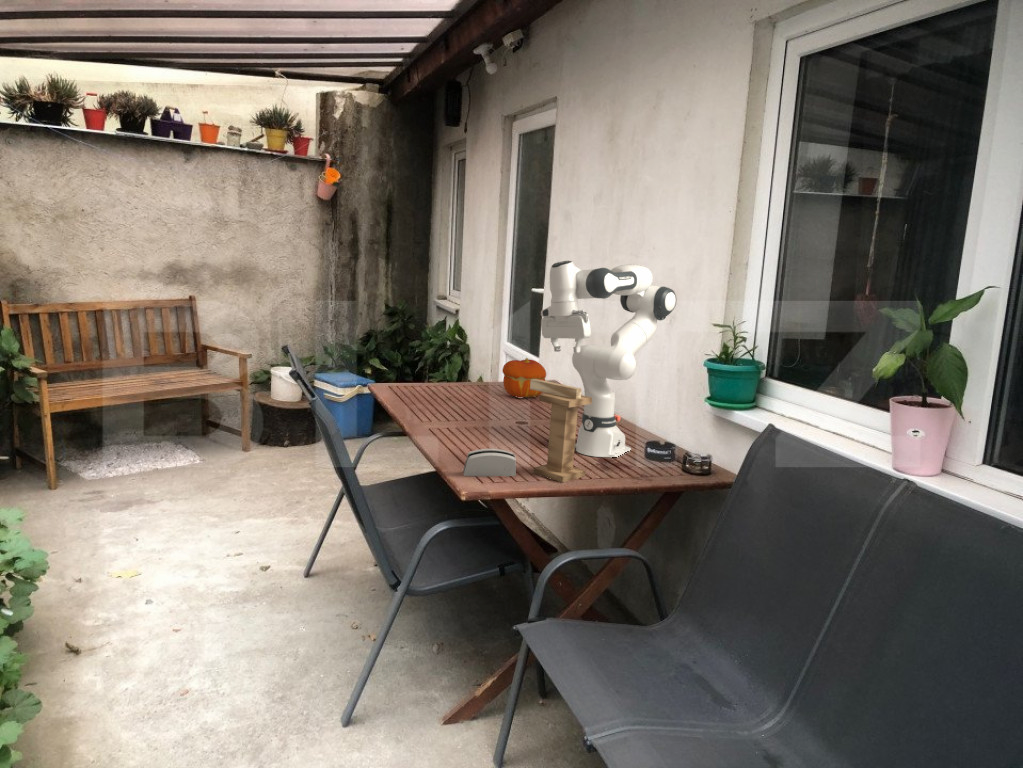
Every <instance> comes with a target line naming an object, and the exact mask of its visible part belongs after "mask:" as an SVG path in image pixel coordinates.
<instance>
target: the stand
mask: <svg viewBox="0 0 1023 768" xmlns="http://www.w3.org/2000/svg"><path fill="white" fill-rule="evenodd" d="M538 402H543V403H546V404H551V411H550V423H549V435H548V436H549V437H548V446H547V447H548V448H547V449H548V450H547V460H546V464H542V465H538V466H535V467H533V470H532V471H533V472H532V474H533V473H534V474H533V475H536V474H538V475H537V476H539V475H541V476H540V477H543V476H544V477H543V478H546V477H548V478H547V479H549V478H551V479H550V480H552V479H553V481H555V480H556V482H559V483H561V484H562V483H567V482H570V481H573V479H574V480H577V479H580V477H581V478H583V477H582V476H584V477H586V472H587V470H586V469H583V468H579V467H576V466H574V458H575V451H576V448H575V444H576V435H577V425H578V424H577V423H578V410H579V407H581V406H584V405H588V404H592V398H591V397H587V396H585V395H582V394H581V399H572V398H568V397H563V396H559V395H554V394H550V393H542V394H540V395H539V396H538Z"/></svg>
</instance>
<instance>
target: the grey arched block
mask: <svg viewBox="0 0 1023 768" xmlns="http://www.w3.org/2000/svg"><path fill="white" fill-rule="evenodd" d="M516 464H517V462H516V455H515V453H514V452H511V451H508V450H506V449H505V450H504V449H500V448H480V449H475V450H472V451H469V452H468V453H467V456H466V459H465V463H464V466H463V476H464V477H490V476H507V477H506V478H510V477H509V476H517V473H516V472H517V468H516V467H517V465H516Z"/></svg>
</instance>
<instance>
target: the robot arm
mask: <svg viewBox="0 0 1023 768" xmlns="http://www.w3.org/2000/svg"><path fill="white" fill-rule="evenodd" d="M549 270H550V271H549V290H550V291H549V292H550V294H551V299H550V306H547V307H546V308H544V309H542V310H541V311H540V316H541V320H540V321H541V323H540V324H541V335H542V336H543V339H550V343H551V345H552V347H553V352H556V353H557V352H558V353H559V352H561V346H560V345H559V342H558V341H559V339H574V342H575V343H576V344H575V346H573V353H572V357H571V362H572V365H573V368H574V369H575V370H576V371H577V373H578V374H579V376H580V379H581V381H582V385H583V389H584V390H583V391H584V396H587V397H591V398H592V404H588V405H583V412H582V415H581V425H580V426H579V428H578V434H577V441H576V443H575V451H576V452H577V453H579V454H581V455H585V456H589V457H596V458H612V457H617V458H619V457H621V456H623V455H625V454H626V453H625V452H627V451H629V452H631V451H632V448H631V447H630V446H628V445H626V434H624V432H623V431H621V429H620V428H619V427H618V426H617V422H620V420H621V415H617V414H615V408H616V393H615V392H614V390H612V388H611V387H610V386H609V384H608V381H607V379H609V380H614V381H624V380H629V379H631V378H632V377H633V375H634V374H635V372H636V368H637V360H636V358H635V355H636V354H638V353H639V351H640V350H641V349H643V347H645V346H646V345H647V344H648V343H649V342H650V340H652V338H653V337H654V335H655V334H656V332H657V330H658V321H663V320H665V319H666V318H667V317H668V316H669V315H670V314H671V313H672V312H673V311H674V309H675V308H676V305H677V295H676V292H675V290H673V289H672V288H670V287H667V286H659V285H653V279H654V278H653V277H654V276H653V274H652V272H651V270H650V269H649V268H648V267H646V266H644V265H641V264H622V265H619V266H615V267H613V268H612V269H609V268H607V267H599V268H593V269H592V268H591V269H581V268H579V267H577V266H576V265H575V264H574V262H573V261H572V260H562V261H557V262H555V263H553V264H552V265H551V266H550V269H549ZM612 295H618V296H620V298H619V301H620V305H621V307H622V309H623V310H625V311H626V312H629V313H631V314H632V313H634V315H633V316H632V318H630V319H628V320H627V321H626V322H625V323H623V324H622V326H620V327H619V328H618V329H617V330H616V331H614V332H613V333H612V335H611V336H610V346H601V345H596V344H595V345H594V344H583V341H584V340H583V339H585V340H586V339H589V338H590V337H591V335H592V331H591V330H592V329H591V324H590V320H589V314H588V313H587V312H586V311H585V310H584V309H581V310H580V309H579V308H578V307H579V306H578V305H579V304H578V300H582V299H583V300H584V299H585V300H586V299H608V298H610V297H611V296H612ZM582 344H583V345H582ZM630 450H631V451H630ZM624 453H625V454H624ZM627 453H628V452H627ZM622 454H623V455H622ZM620 455H621V456H620ZM618 456H619V457H618Z"/></svg>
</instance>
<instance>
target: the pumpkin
mask: <svg viewBox="0 0 1023 768" xmlns="http://www.w3.org/2000/svg"><path fill="white" fill-rule="evenodd" d="M502 374H503V382H502V383H503V389H505V391H506V393H507V394H509V395H510V396H511V395H512V396H511V397H513V396H517V397H528V398H531V397H534V396H537V397H539V395H540V394H543V392H541V391H536V390H532V389H530V382H531V379H538V380H542V381H546V377H547V371H546V369H545V367H544V366H543V365H542V364H541V363H540V362H538V361H536V360H534V359H531V358H530V359H529V358H528V357H526V358H525V359H522V360H521V359H520V360H518V359H513V360H509V361H507V362H506V363H505V364H504V365H503V367H502Z"/></svg>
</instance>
